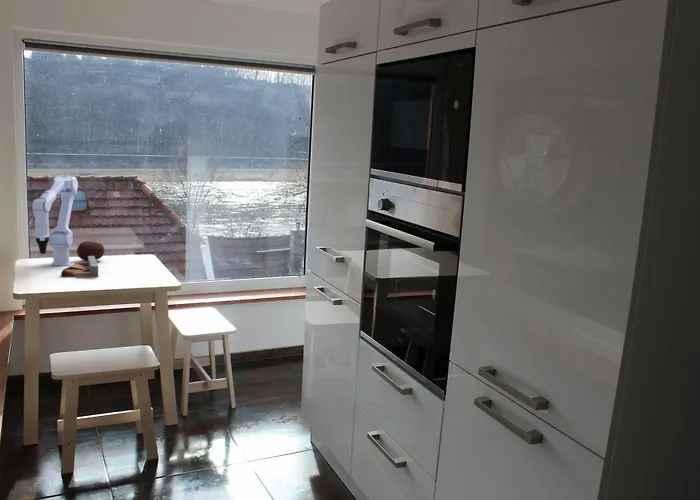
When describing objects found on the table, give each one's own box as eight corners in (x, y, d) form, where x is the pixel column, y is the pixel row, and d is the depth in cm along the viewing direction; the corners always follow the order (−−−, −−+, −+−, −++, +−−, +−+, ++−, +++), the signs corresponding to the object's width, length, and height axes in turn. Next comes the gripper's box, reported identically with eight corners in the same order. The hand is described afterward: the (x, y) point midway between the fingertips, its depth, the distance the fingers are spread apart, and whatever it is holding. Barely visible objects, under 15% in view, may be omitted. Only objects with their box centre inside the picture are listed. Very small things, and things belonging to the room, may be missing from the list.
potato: (104, 262, 324) (104, 243, 323) (76, 263, 319) (76, 243, 318) (104, 258, 334) (104, 239, 333) (77, 259, 330) (76, 239, 328)
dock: (75, 266, 312) (74, 256, 312) (94, 265, 316) (94, 255, 315) (77, 277, 288) (76, 267, 288) (98, 276, 292) (98, 266, 291)
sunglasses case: (80, 277, 290) (72, 264, 288) (66, 284, 290) (58, 272, 288) (91, 269, 307) (84, 257, 306) (79, 276, 307) (71, 264, 306)
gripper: (32, 222, 300) (33, 251, 302) (32, 227, 287) (33, 256, 289) (49, 222, 303) (50, 250, 305) (49, 226, 290) (50, 256, 292)
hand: (42, 253), depth 298 cm, fingers closed
